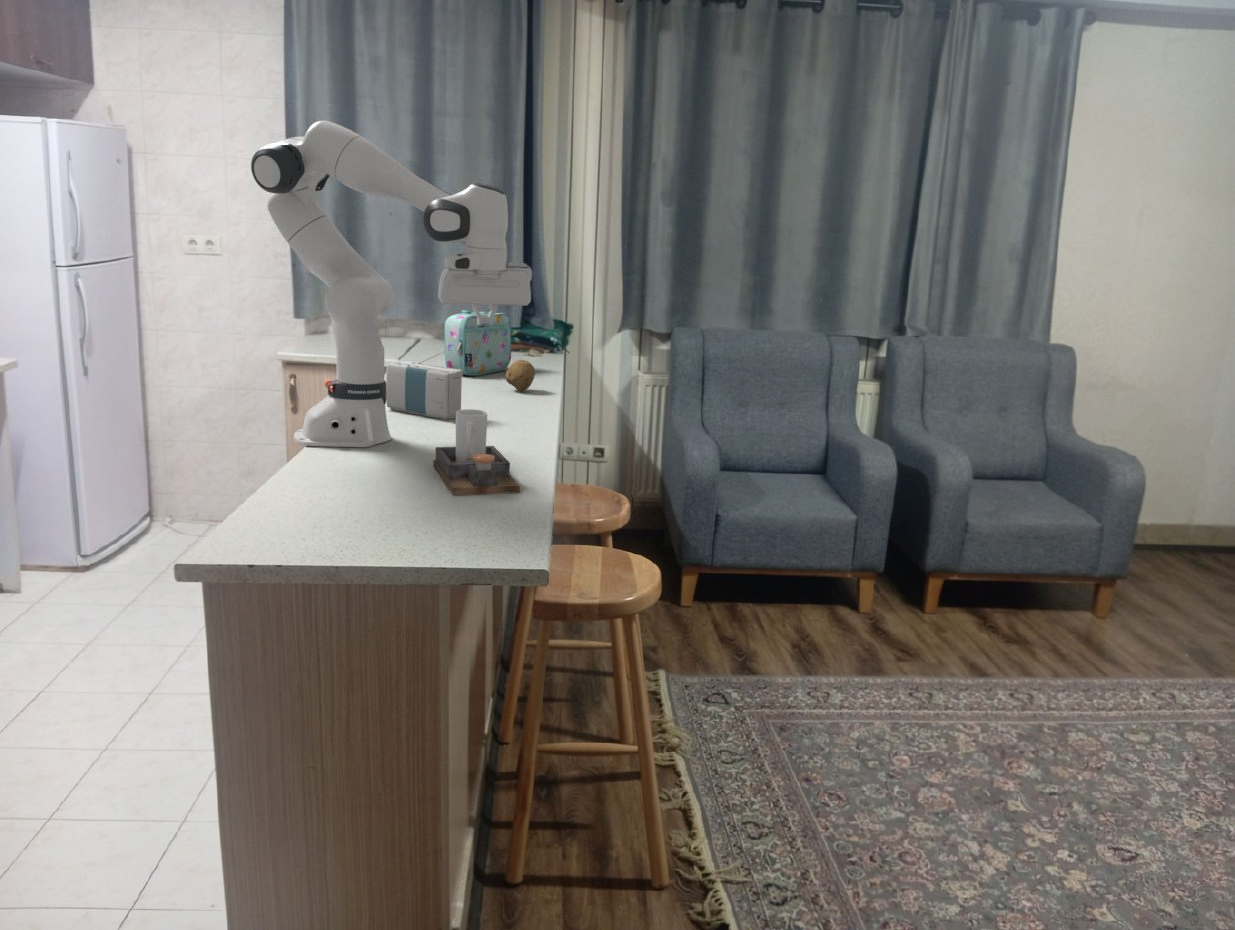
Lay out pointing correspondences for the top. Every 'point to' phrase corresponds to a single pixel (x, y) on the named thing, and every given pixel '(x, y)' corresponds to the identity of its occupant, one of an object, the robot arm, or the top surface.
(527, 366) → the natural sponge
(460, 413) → the mug
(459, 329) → the lunch box
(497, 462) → the board
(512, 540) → the top surface
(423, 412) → the stereo radio cassette player
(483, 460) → the click button
